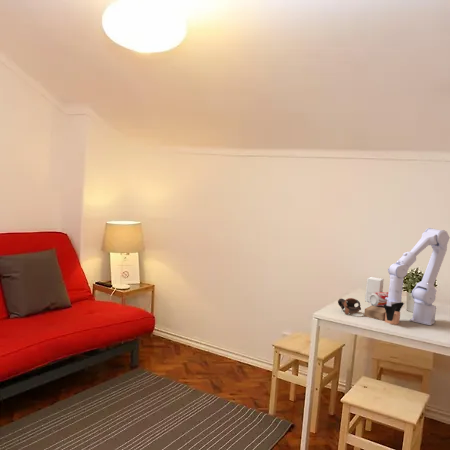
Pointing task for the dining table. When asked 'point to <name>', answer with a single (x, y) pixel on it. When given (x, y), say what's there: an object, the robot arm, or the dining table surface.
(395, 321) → the terracotta block
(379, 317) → the light tan wooden block
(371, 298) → the soda can
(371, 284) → the supplement box
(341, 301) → the pottery mug
